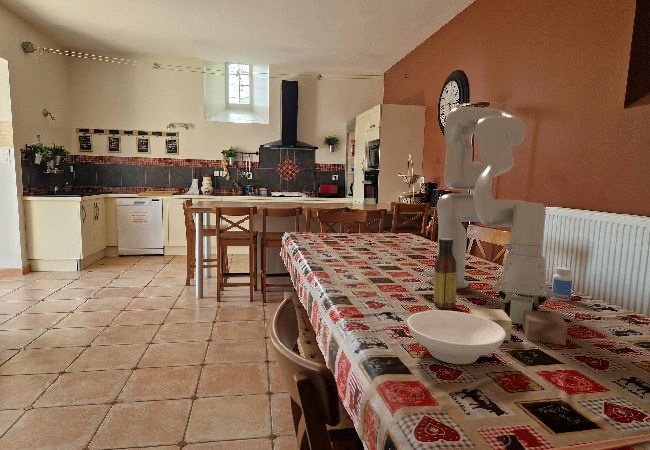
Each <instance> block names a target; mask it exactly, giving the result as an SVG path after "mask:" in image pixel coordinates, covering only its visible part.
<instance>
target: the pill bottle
mask: <svg viewBox="0 0 650 450" xmlns="http://www.w3.org/2000/svg"><path fill="white" fill-rule="evenodd" d="M571 272H572V270H571V268H569V267H565V266H557V267H555V273H554V274H553V275H552V283H551V290H552V292H553V293H554V297H552V298H551V299H553V300H557V301H561V302H562V301H564V302H567V301H570V300H571V297H572V289H573V276H572V275H570V274H571Z"/></svg>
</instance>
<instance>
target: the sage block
mask: <svg viewBox="0 0 650 450" xmlns="http://www.w3.org/2000/svg"><path fill="white" fill-rule="evenodd" d="M510 301H511V307H510V317H509V318H510V319H511V320H512V324H517V325H523V314H524V310H530V311H532V304H533V303H532V302H533V298H532V297H530V296H529V297H528V296H520V295H513V294H512V296H511V298H510Z"/></svg>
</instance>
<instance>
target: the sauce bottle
mask: <svg viewBox="0 0 650 450" xmlns="http://www.w3.org/2000/svg"><path fill="white" fill-rule="evenodd" d="M452 247H453V239H452V238H439V254H438V256H437V255H436V258H435V259H434V269H433V270H434V284H433V305H434V306H435V307H436V308H440V309H447V310H449V309H453V308H455V307H456V302H457V289H456V275H457V271H456V260H455V258H454V256H453V254H452V253H453V252H452Z"/></svg>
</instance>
